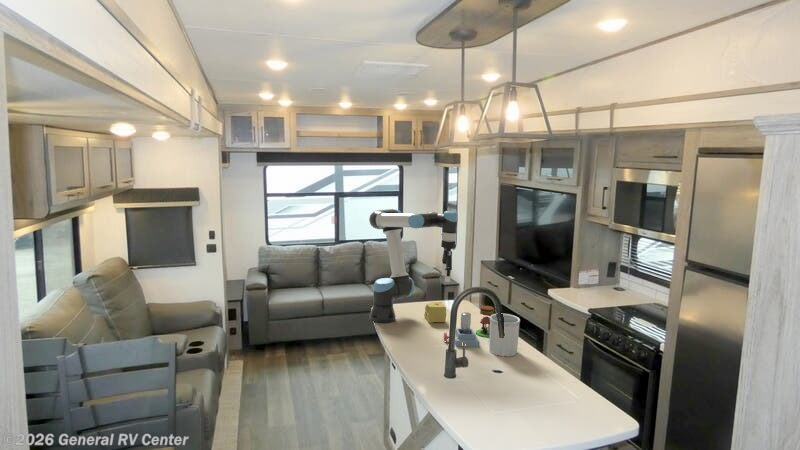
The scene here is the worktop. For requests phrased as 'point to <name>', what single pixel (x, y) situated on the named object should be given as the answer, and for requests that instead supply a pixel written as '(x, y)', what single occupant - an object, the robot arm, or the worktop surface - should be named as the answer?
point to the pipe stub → (465, 323)
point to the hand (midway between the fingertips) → (445, 278)
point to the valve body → (464, 338)
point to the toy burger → (485, 321)
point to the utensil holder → (510, 339)
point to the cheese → (435, 312)
